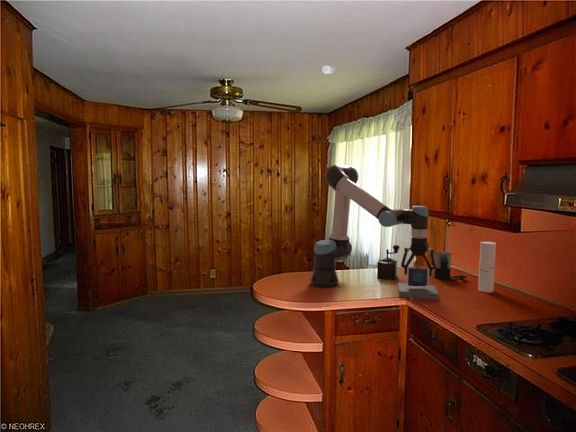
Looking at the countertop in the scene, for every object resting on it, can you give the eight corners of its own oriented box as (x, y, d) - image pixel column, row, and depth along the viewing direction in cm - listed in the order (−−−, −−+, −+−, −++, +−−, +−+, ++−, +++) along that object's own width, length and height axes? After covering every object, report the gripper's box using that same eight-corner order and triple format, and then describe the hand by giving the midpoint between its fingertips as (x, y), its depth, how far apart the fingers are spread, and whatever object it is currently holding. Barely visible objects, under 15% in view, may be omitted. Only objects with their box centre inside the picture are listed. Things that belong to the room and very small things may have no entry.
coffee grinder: (396, 280, 228) (397, 249, 226) (376, 278, 232) (377, 247, 230) (399, 274, 243) (400, 244, 241) (380, 272, 247) (381, 243, 245)
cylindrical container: (496, 292, 206) (499, 244, 204) (482, 292, 206) (485, 244, 203) (488, 288, 213) (491, 241, 211) (475, 288, 213) (477, 241, 210)
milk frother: (431, 275, 239) (432, 251, 237) (456, 275, 240) (457, 250, 239) (441, 282, 225) (443, 256, 223) (469, 281, 226) (470, 255, 224)
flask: (425, 284, 204) (426, 264, 202) (427, 286, 201) (428, 265, 199) (407, 284, 204) (408, 263, 203) (408, 286, 201) (409, 265, 200)
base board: (399, 297, 198) (399, 291, 197) (398, 288, 212) (398, 283, 212) (437, 300, 193) (438, 293, 193) (434, 291, 208) (434, 285, 208)
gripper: (396, 237, 199) (395, 282, 201) (443, 239, 194) (441, 285, 196) (396, 235, 206) (394, 278, 208) (441, 236, 201) (439, 281, 203)
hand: (417, 281), depth 202 cm, fingers closed on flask, 9 cm apart
